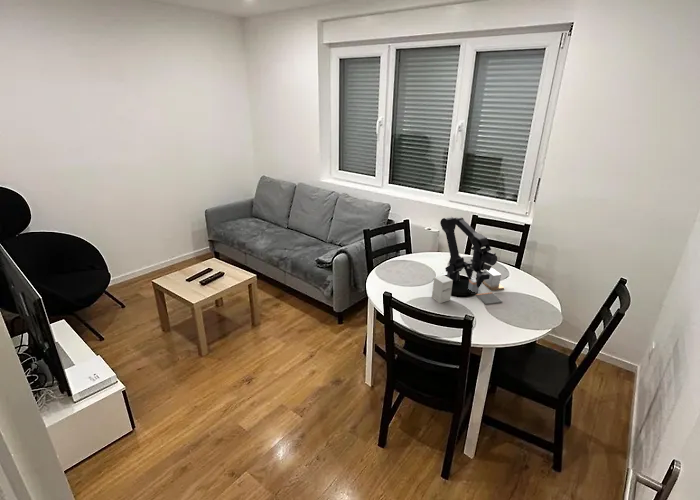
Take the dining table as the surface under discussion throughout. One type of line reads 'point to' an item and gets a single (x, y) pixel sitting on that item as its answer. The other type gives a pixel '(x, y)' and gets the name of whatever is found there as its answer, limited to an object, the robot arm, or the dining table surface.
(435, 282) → the supplement box
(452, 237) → the robot arm
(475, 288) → the cartridge
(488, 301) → the pad
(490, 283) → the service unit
